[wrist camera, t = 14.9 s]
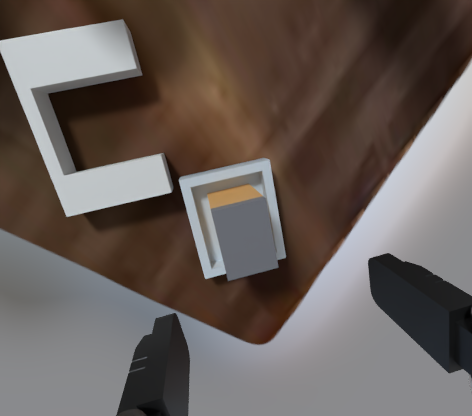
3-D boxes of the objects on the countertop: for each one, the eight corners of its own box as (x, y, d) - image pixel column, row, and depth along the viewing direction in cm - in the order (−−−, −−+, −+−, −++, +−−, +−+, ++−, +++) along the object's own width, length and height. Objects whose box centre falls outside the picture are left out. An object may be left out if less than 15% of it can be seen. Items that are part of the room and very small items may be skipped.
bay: (130, 31, 27) (122, 19, 24) (173, 187, 31) (171, 192, 28) (18, 51, 26) (-4, 41, 23) (78, 209, 30) (66, 216, 28)
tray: (263, 157, 32) (269, 159, 30) (279, 249, 35) (286, 257, 33) (179, 177, 31) (178, 180, 29) (204, 269, 34) (205, 278, 32)
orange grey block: (248, 183, 32) (265, 198, 24) (259, 237, 34) (278, 267, 26) (207, 193, 31) (211, 211, 24) (220, 247, 33) (228, 280, 26)
